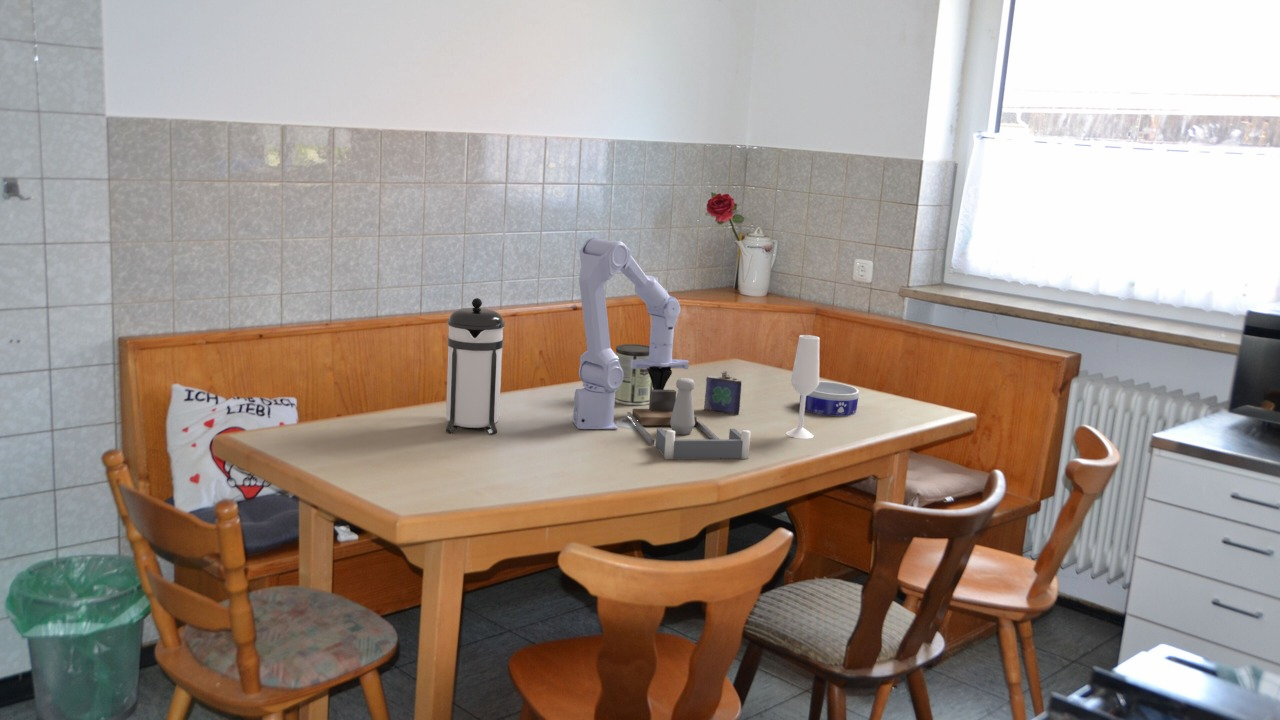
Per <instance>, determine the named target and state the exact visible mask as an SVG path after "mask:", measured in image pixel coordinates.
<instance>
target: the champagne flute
mask: <svg viewBox="0 0 1280 720" xmlns="http://www.w3.org/2000/svg"><path fill="white" fill-rule="evenodd" d="M820 340H821V339H820V337H819V336H817V335H809V334H800V335H799V336H798V342H797V347H796V352H795V358H794V362H793V363H794V364H793V368H792V373H791V376H790V383H791V386H792V388H793V389H794V390H795V391H796V392H797V393H798V394H799V396H800V395H801V402H800V401H799V412H798V423H797V427H794V428H793V429H790V430H788V431H786V432H785V434H786V435H787V436H788V437H791V438H795V439H804V440H806V439H807V440H808V439H813V438H814V434H813V433H811V432H810V431H808V430H807V429H806V428H804V419H805V411H806V410H805V401H806V396H807V395H809V394H810V393H812V392H813V391H814V390H815V389H816V388H817V387H818V385H819V381H820Z"/></svg>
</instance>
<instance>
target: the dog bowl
mask: <svg viewBox="0 0 1280 720" xmlns="http://www.w3.org/2000/svg"><path fill="white" fill-rule="evenodd" d="M859 395H860V391H859V389H858V388H856V387H855V386H852V385H848V384H846V383H840V382H836V381H835V382H834V381H825V380H819V385H818V387H817V388H816V389H815V390H814V391H813V392H812V393H810V394H809V395H807V396H806V401H805V411H806V412H809V413H812V414H817V415H820V416H821V415H823V416H831V417H846V416H851V415H852V416H853V415H854V414H856V413H857V408H858V401H859ZM799 396H800V397H799V403H800V402H801V395H800V394H799Z"/></svg>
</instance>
